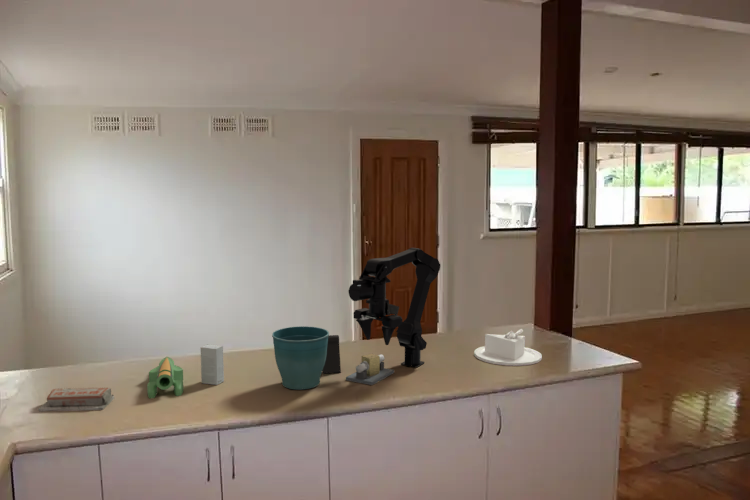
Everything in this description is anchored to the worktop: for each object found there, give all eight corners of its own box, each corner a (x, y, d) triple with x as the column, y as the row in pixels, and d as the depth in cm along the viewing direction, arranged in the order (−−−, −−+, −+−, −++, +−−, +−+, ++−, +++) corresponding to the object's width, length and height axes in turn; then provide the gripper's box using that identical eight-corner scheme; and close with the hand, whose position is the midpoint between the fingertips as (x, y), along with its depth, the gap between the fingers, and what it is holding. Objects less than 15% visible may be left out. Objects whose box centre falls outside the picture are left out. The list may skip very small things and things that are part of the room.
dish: (549, 354, 235) (551, 325, 234) (528, 370, 214) (529, 339, 213) (489, 344, 249) (490, 317, 247) (463, 359, 228) (464, 329, 226)
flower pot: (331, 392, 191) (331, 338, 189) (273, 395, 188) (272, 341, 186) (326, 374, 208) (326, 325, 207) (272, 377, 205) (272, 327, 204)
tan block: (369, 376, 203) (369, 358, 203) (361, 373, 206) (361, 356, 206) (379, 373, 207) (379, 355, 206) (371, 370, 209) (371, 353, 209)
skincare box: (224, 381, 201) (223, 345, 200) (217, 385, 197) (216, 349, 196) (208, 379, 203) (207, 344, 201) (200, 383, 199) (199, 347, 197)
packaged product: (114, 383, 185) (102, 395, 175) (115, 399, 185) (103, 411, 176) (52, 384, 184) (36, 396, 174) (53, 400, 184) (37, 413, 174)
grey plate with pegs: (369, 368, 215) (369, 351, 215) (394, 372, 210) (394, 355, 210) (345, 380, 203) (345, 362, 202) (372, 385, 198) (372, 366, 197)
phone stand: (340, 372, 210) (340, 338, 209) (323, 373, 209) (323, 339, 208) (336, 365, 219) (336, 332, 218) (320, 366, 218) (319, 333, 216)
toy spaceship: (151, 368, 215) (150, 348, 214) (183, 366, 218) (182, 346, 217) (146, 399, 184) (145, 375, 184) (183, 396, 188) (182, 372, 187)
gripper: (414, 297, 204) (414, 343, 206) (376, 289, 218) (376, 332, 220) (389, 302, 197) (390, 349, 199) (352, 294, 211) (352, 338, 212)
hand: (377, 342), depth 208 cm, fingers open, 9 cm apart
